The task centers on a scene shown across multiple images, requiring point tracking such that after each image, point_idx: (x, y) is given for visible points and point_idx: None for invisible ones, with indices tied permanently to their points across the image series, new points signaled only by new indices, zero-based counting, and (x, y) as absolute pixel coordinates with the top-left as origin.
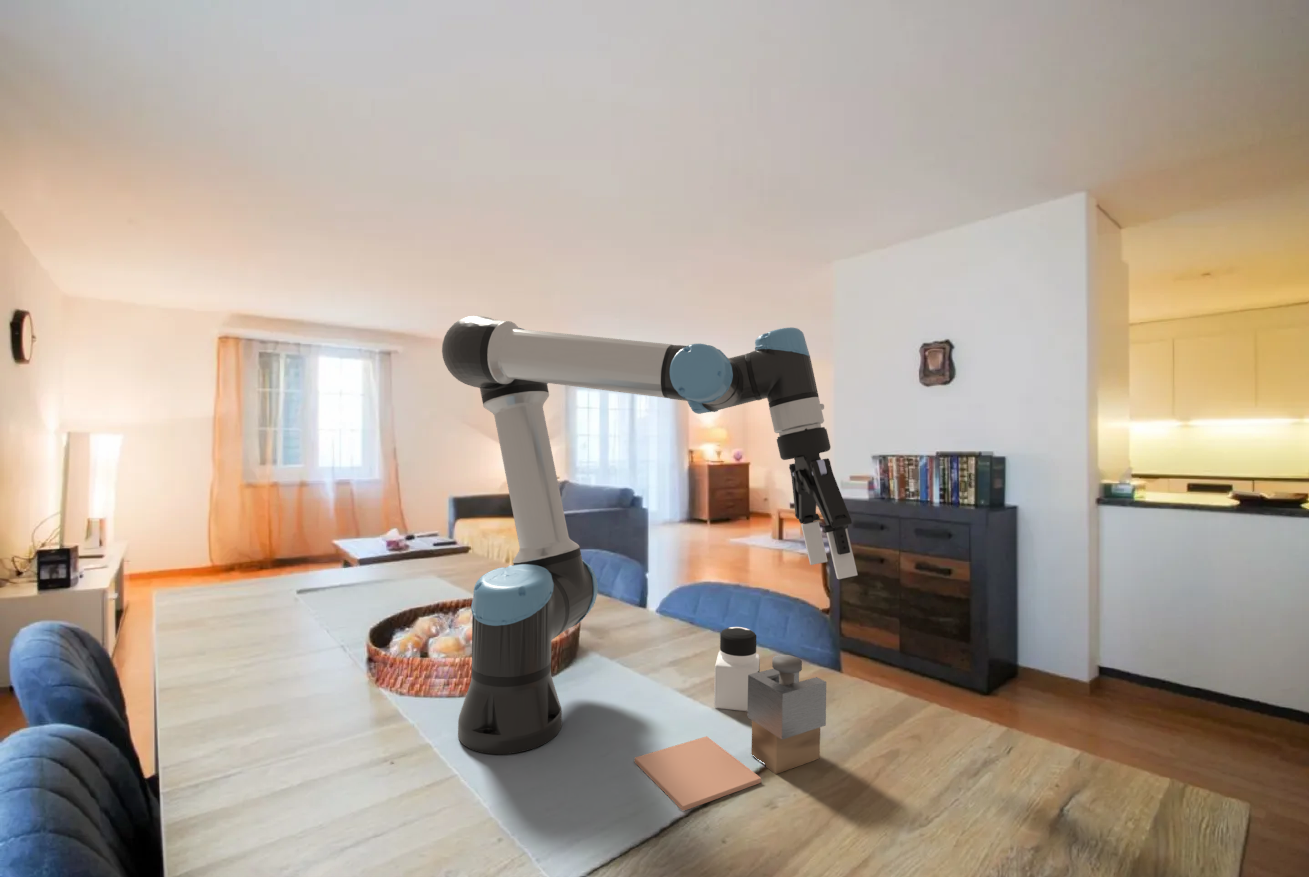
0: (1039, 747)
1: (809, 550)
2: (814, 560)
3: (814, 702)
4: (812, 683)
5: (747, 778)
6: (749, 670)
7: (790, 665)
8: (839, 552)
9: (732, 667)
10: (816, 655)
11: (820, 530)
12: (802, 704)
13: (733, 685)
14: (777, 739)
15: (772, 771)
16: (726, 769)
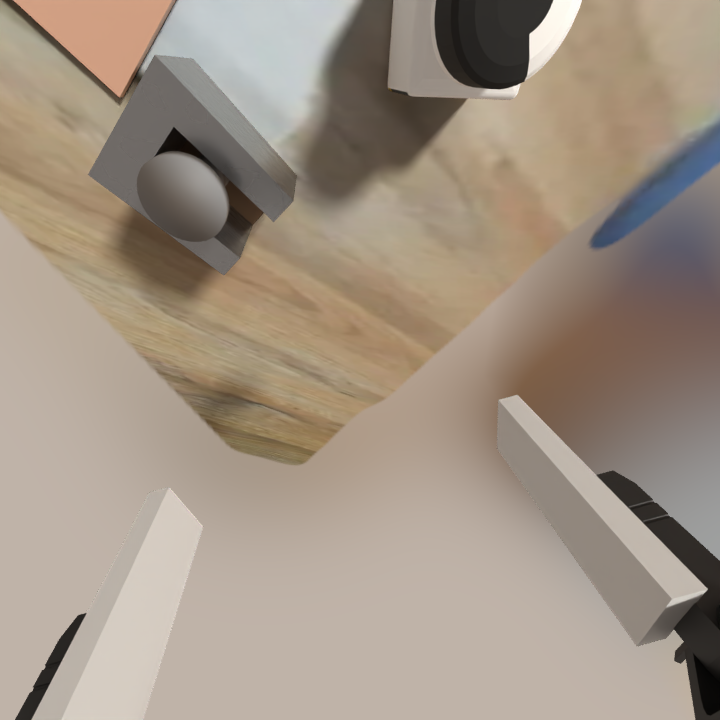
0: (358, 411)
1: (535, 449)
2: (506, 423)
3: None
4: (198, 248)
5: (97, 63)
6: (408, 62)
7: (146, 211)
8: (70, 628)
9: None
10: (630, 232)
11: (590, 578)
12: None
13: (404, 3)
14: None
15: None
16: (98, 1)
